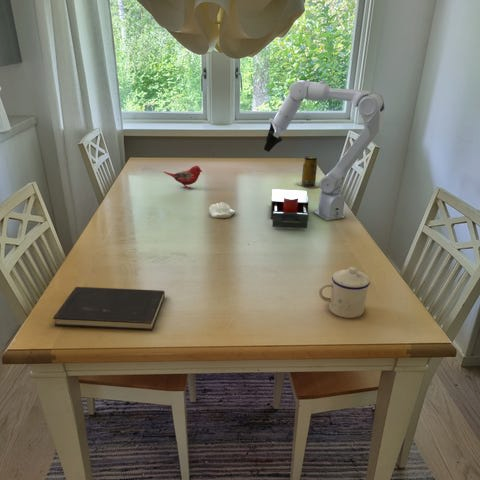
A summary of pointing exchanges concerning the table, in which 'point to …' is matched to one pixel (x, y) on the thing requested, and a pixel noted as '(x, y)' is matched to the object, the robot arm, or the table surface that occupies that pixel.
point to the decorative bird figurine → (187, 176)
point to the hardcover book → (111, 308)
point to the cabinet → (280, 194)
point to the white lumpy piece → (221, 210)
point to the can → (290, 204)
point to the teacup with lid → (347, 293)
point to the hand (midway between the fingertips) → (267, 146)
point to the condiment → (309, 172)
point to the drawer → (290, 217)
